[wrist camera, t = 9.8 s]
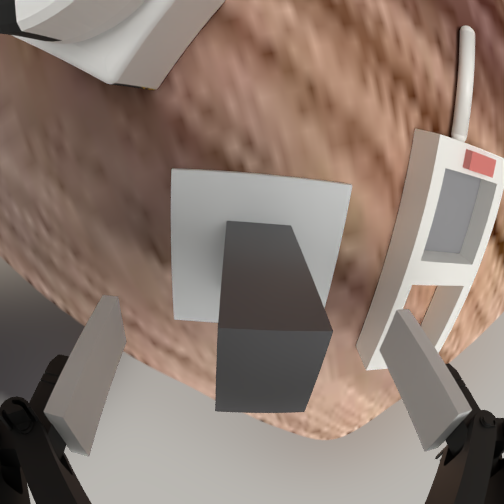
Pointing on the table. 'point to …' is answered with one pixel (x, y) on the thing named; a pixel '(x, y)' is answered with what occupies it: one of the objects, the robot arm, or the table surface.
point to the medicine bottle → (110, 34)
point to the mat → (247, 210)
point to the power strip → (438, 223)
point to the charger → (267, 322)
